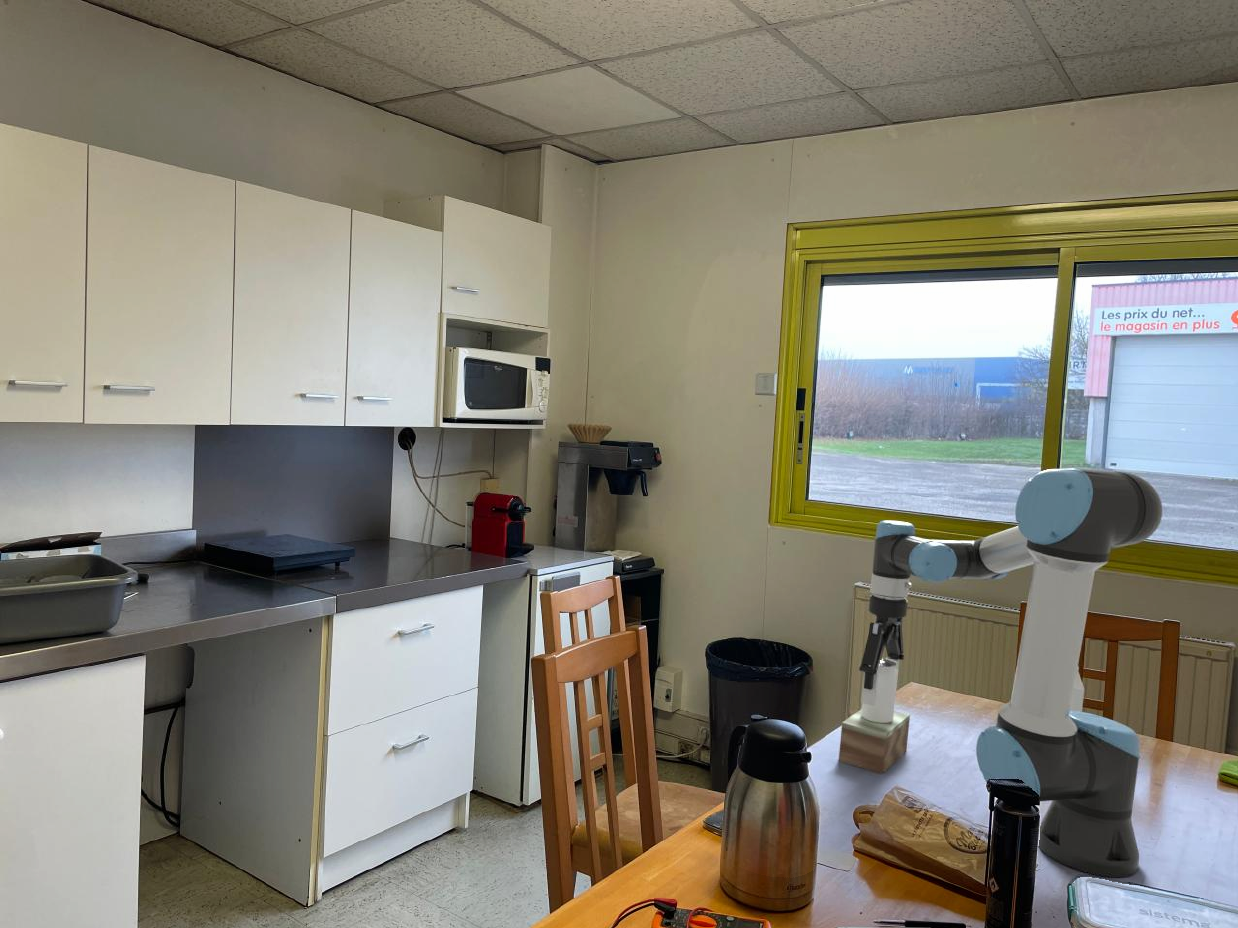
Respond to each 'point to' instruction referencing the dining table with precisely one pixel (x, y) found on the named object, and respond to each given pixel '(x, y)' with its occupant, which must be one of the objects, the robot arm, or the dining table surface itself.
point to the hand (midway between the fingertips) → (879, 696)
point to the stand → (873, 741)
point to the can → (883, 694)
